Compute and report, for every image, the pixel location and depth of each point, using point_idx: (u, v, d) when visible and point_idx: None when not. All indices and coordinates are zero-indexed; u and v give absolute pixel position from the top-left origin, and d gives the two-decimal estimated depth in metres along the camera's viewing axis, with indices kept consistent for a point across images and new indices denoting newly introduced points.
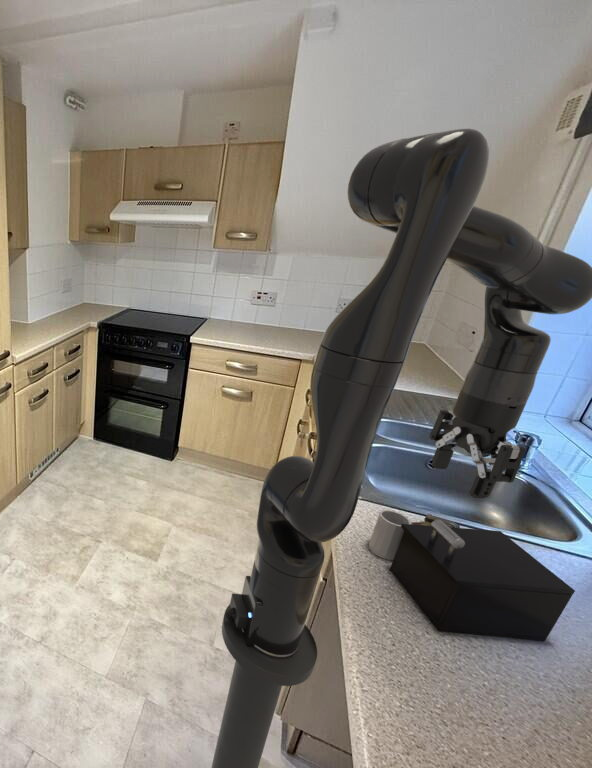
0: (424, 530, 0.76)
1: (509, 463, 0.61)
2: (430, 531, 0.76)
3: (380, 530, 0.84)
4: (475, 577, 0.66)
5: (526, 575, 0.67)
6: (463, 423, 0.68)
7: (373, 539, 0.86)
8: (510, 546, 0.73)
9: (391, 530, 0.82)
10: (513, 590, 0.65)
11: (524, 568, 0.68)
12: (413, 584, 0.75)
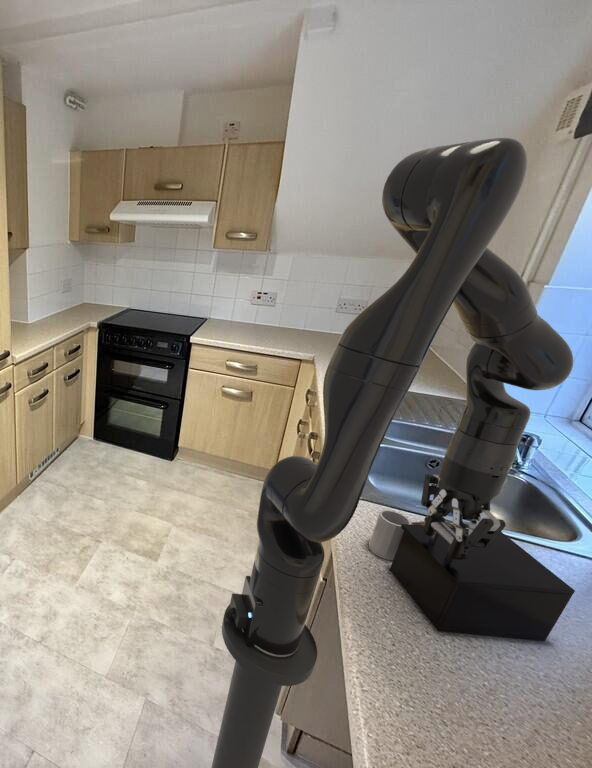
0: None
1: (487, 534, 0.63)
2: None
3: (380, 530, 0.84)
4: (475, 577, 0.66)
5: (526, 575, 0.67)
6: (449, 486, 0.69)
7: (373, 539, 0.86)
8: (510, 546, 0.73)
9: (391, 530, 0.82)
10: (513, 590, 0.65)
11: (524, 568, 0.68)
12: (413, 584, 0.75)
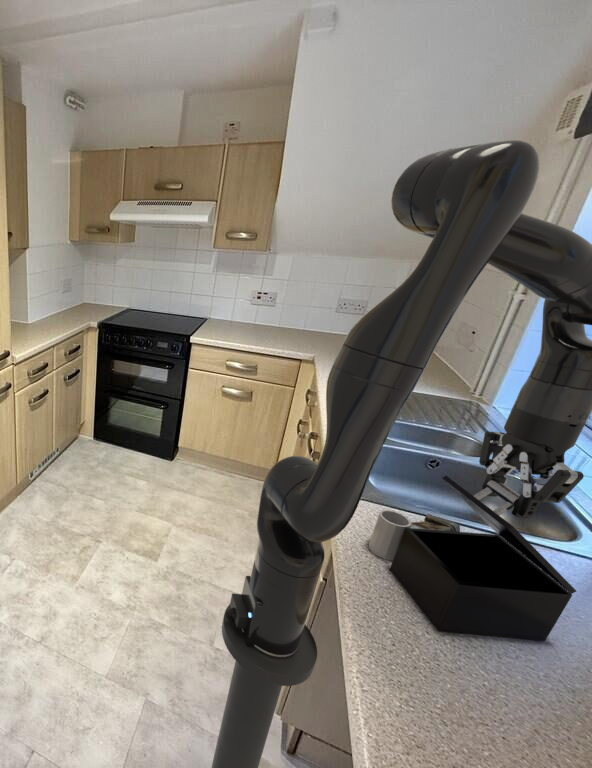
0: None
1: (561, 487, 0.59)
2: None
3: (380, 530, 0.84)
4: None
5: None
6: (514, 441, 0.65)
7: (373, 539, 0.86)
8: None
9: (391, 530, 0.82)
10: (513, 590, 0.65)
11: None
12: (413, 584, 0.75)
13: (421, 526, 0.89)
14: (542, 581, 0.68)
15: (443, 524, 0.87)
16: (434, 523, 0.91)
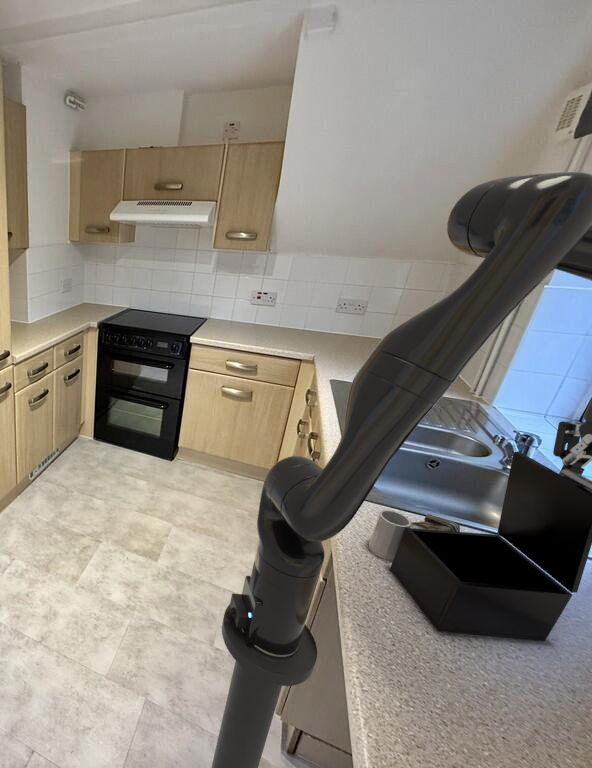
0: None
1: None
2: None
3: (380, 530, 0.84)
4: None
5: None
6: None
7: (373, 539, 0.86)
8: None
9: (391, 530, 0.82)
10: (513, 590, 0.65)
11: None
12: (413, 584, 0.75)
13: (421, 526, 0.89)
14: (542, 581, 0.68)
15: (443, 524, 0.87)
16: (434, 523, 0.91)
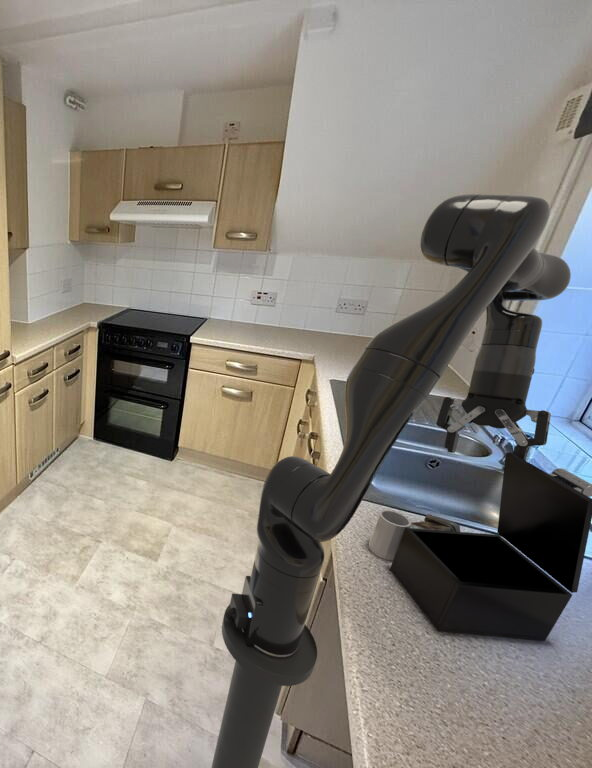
0: None
1: (547, 426, 0.69)
2: None
3: (380, 530, 0.84)
4: None
5: None
6: (479, 403, 0.76)
7: (373, 539, 0.86)
8: None
9: (391, 530, 0.82)
10: (513, 590, 0.65)
11: None
12: (413, 584, 0.75)
13: (421, 526, 0.89)
14: (542, 581, 0.68)
15: (443, 524, 0.87)
16: (434, 523, 0.91)
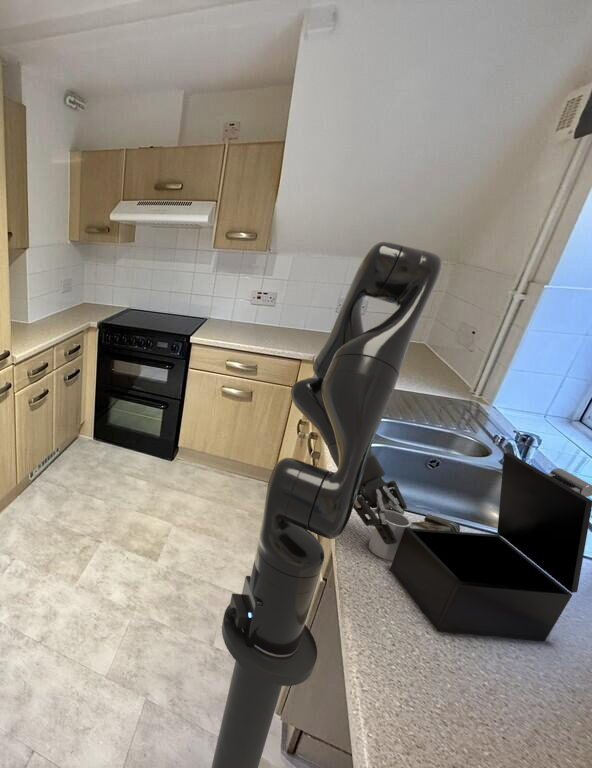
0: None
1: None
2: None
3: None
4: None
5: None
6: (370, 488, 0.85)
7: (373, 539, 0.86)
8: None
9: None
10: (513, 590, 0.65)
11: None
12: (413, 584, 0.75)
13: (421, 526, 0.89)
14: (542, 581, 0.68)
15: (443, 524, 0.87)
16: (434, 523, 0.91)
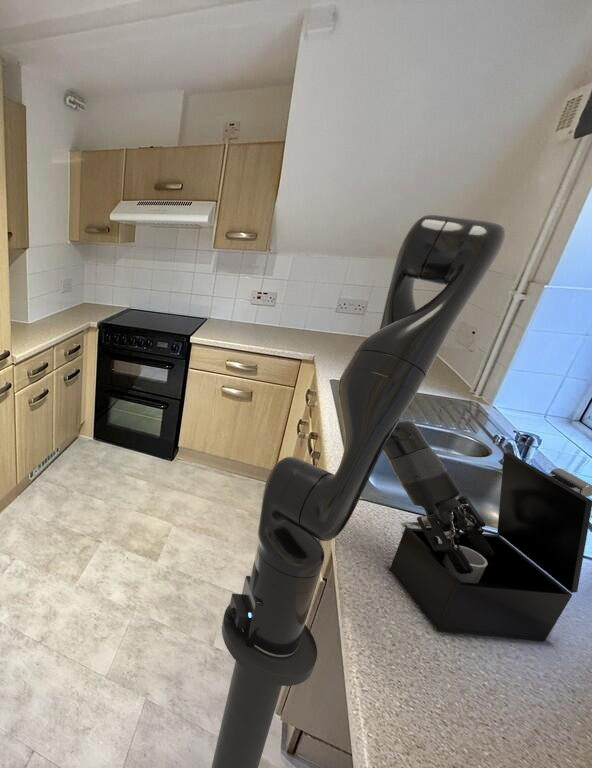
0: None
1: None
2: None
3: (450, 569, 0.74)
4: None
5: None
6: (444, 509, 0.74)
7: None
8: None
9: None
10: (513, 590, 0.65)
11: None
12: (413, 584, 0.75)
13: None
14: (542, 581, 0.68)
15: None
16: None
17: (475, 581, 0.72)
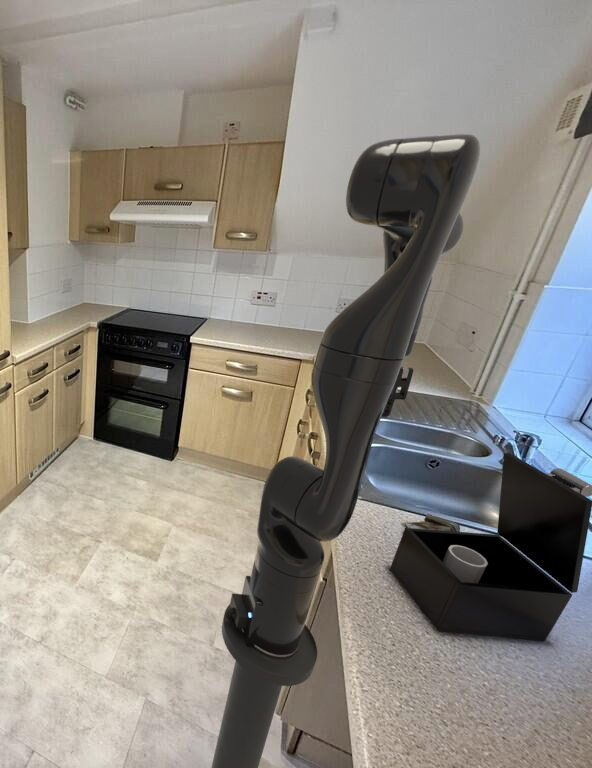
0: None
1: (401, 382, 0.73)
2: None
3: (450, 569, 0.74)
4: None
5: None
6: None
7: None
8: None
9: (465, 570, 0.72)
10: (513, 590, 0.65)
11: None
12: (413, 584, 0.75)
13: (421, 526, 0.89)
14: (542, 581, 0.68)
15: (443, 524, 0.87)
16: (434, 523, 0.91)
17: (475, 581, 0.72)
